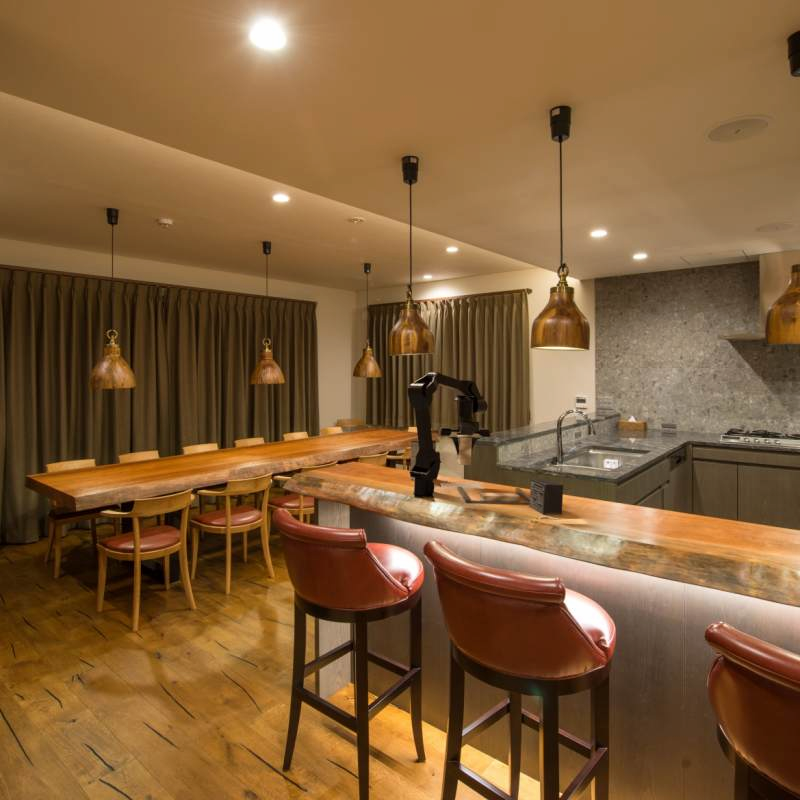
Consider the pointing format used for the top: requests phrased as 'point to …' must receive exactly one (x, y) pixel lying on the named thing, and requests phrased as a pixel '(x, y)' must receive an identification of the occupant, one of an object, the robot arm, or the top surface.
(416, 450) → the coffee box
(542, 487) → the small box
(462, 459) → the tan brown block
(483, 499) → the upper offcut
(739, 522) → the top surface
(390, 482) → the top surface
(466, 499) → the rack
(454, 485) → the mat
